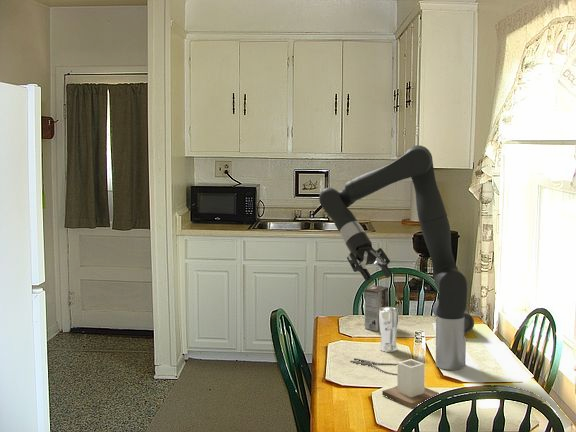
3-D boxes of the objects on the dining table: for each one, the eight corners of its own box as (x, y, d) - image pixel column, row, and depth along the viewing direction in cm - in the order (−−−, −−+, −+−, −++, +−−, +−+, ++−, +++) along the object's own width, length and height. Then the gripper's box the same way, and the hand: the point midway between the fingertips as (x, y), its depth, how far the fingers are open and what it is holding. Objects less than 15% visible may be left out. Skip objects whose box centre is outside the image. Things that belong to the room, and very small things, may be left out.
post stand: (410, 386, 216) (410, 357, 215) (439, 398, 206) (440, 367, 205) (382, 395, 209) (382, 365, 208) (411, 408, 199) (411, 376, 198)
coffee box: (375, 323, 285) (375, 284, 283) (389, 325, 281) (389, 286, 279) (364, 328, 278) (364, 289, 276) (378, 331, 274) (378, 291, 272)
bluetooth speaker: (475, 336, 266) (476, 311, 264) (452, 338, 264) (452, 312, 263) (452, 320, 288) (453, 296, 287) (431, 321, 286) (431, 298, 285)
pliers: (402, 374, 225) (344, 366, 233) (402, 377, 225) (344, 369, 233) (409, 365, 234) (353, 357, 242) (409, 367, 234) (353, 360, 242)
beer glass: (401, 349, 252) (402, 308, 250) (390, 353, 247) (391, 312, 245) (386, 345, 257) (386, 305, 255) (374, 349, 252) (374, 309, 250)
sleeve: (410, 387, 211) (410, 358, 210) (424, 392, 207) (424, 363, 206) (397, 391, 208) (397, 362, 207) (411, 397, 203) (411, 367, 202)
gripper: (344, 233, 221) (368, 274, 213) (376, 229, 229) (401, 268, 222) (333, 247, 226) (357, 288, 218) (366, 242, 234) (389, 281, 227)
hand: (379, 278), depth 220 cm, fingers open, 8 cm apart
